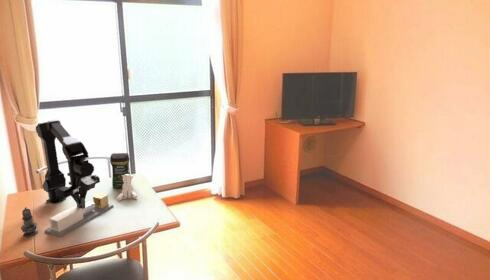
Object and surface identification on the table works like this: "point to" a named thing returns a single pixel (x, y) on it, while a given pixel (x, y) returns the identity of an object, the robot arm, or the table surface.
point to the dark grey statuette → (28, 224)
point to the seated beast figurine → (127, 188)
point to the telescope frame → (77, 216)
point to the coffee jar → (119, 168)
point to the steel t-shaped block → (85, 205)
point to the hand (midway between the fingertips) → (81, 203)
